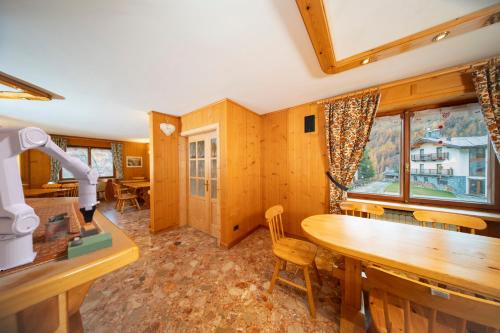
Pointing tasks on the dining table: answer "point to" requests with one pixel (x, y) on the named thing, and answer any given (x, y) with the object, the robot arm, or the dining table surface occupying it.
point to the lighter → (57, 227)
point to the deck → (89, 244)
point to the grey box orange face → (89, 231)
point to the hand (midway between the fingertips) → (88, 222)
